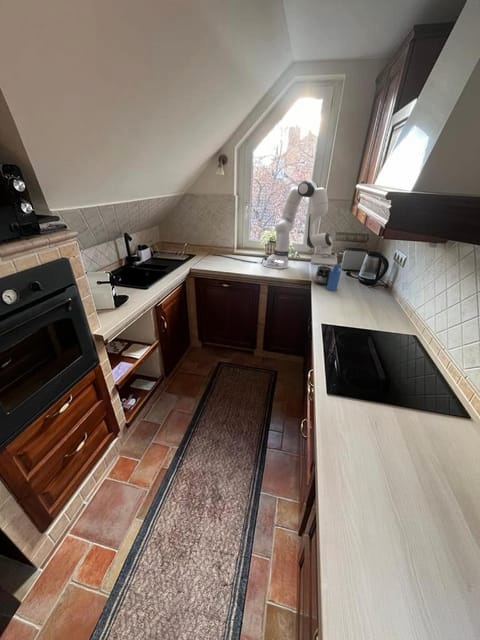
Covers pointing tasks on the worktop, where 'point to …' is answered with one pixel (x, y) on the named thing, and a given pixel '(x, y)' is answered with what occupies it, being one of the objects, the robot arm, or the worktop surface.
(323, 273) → the supplement container
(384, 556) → the worktop surface
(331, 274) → the blue bottle
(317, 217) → the robot arm
